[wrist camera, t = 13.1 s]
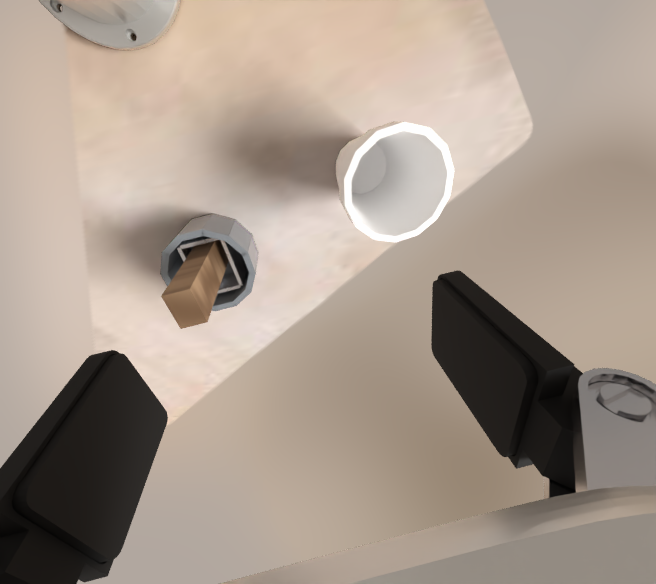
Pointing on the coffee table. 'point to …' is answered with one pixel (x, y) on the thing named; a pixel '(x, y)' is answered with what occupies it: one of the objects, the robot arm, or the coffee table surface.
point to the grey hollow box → (233, 255)
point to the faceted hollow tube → (222, 231)
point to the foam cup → (394, 180)
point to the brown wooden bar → (196, 284)
